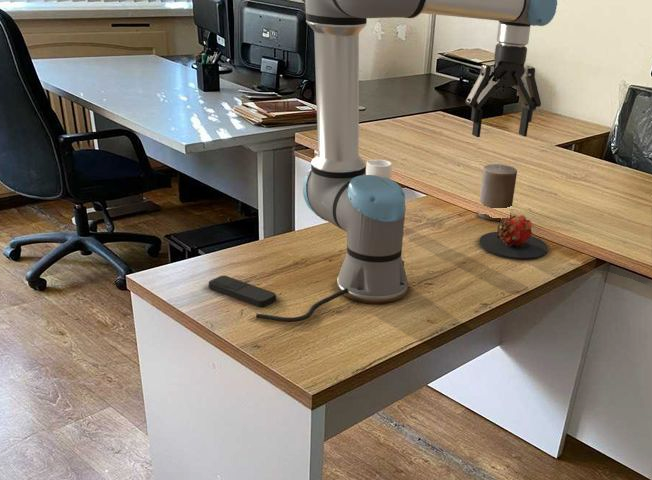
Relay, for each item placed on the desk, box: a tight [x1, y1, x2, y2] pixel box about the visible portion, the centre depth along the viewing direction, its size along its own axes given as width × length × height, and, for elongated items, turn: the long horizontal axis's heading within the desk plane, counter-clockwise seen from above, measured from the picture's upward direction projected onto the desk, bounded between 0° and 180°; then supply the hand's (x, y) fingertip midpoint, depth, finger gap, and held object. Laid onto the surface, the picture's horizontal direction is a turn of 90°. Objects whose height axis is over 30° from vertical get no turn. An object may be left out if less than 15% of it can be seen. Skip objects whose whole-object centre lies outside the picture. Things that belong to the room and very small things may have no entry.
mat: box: [478, 231, 549, 261], centre depth 182 cm, size 18×18×1 cm
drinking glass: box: [366, 158, 393, 180], centre depth 188 cm, size 7×7×15 cm
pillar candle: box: [477, 163, 518, 222], centre depth 197 cm, size 10×10×15 cm
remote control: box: [208, 274, 277, 308], centre depth 144 cm, size 5×2×15 cm
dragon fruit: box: [496, 214, 533, 247], centre depth 180 cm, size 8×8×12 cm
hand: (499, 135), depth 175 cm, fingers open, 13 cm apart
